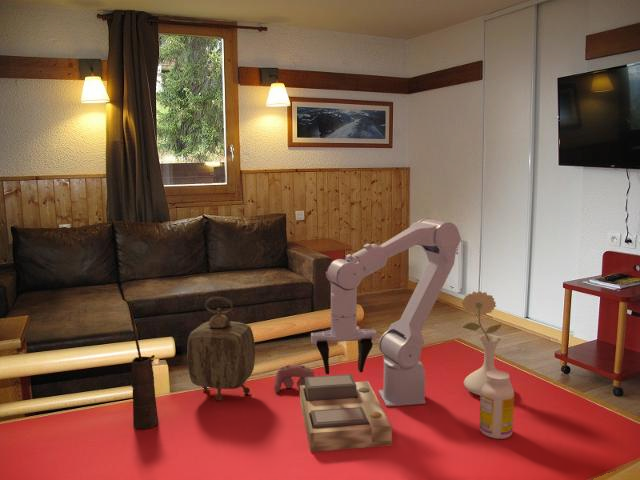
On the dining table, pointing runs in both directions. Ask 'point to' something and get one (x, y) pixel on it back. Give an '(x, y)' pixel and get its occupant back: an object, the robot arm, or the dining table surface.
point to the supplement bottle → (496, 405)
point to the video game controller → (292, 371)
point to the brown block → (338, 417)
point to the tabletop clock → (221, 352)
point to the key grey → (330, 387)
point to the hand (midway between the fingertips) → (343, 371)
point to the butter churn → (143, 388)
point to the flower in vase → (481, 338)
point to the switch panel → (348, 436)
